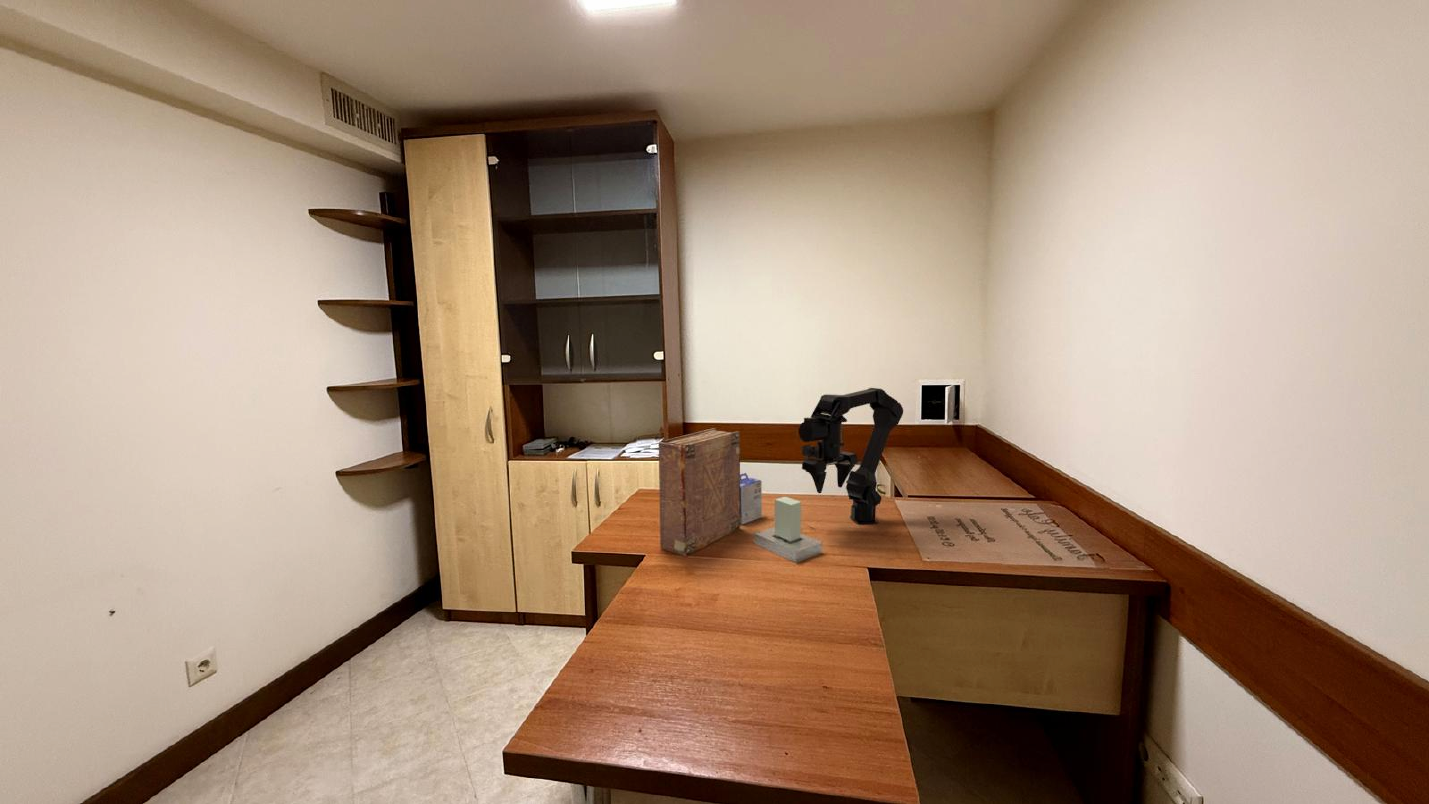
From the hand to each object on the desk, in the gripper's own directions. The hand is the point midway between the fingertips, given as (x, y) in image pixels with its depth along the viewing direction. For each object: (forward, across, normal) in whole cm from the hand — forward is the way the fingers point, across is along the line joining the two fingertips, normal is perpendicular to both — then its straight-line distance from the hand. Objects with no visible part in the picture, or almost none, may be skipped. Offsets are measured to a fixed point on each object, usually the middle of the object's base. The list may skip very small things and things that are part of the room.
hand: (829, 490), depth 156 cm
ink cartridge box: (+13, +13, -23) cm, 29 cm away
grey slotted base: (+12, +19, +1) cm, 23 cm away
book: (+13, +33, -19) cm, 40 cm away
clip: (+12, +19, +1) cm, 23 cm away
